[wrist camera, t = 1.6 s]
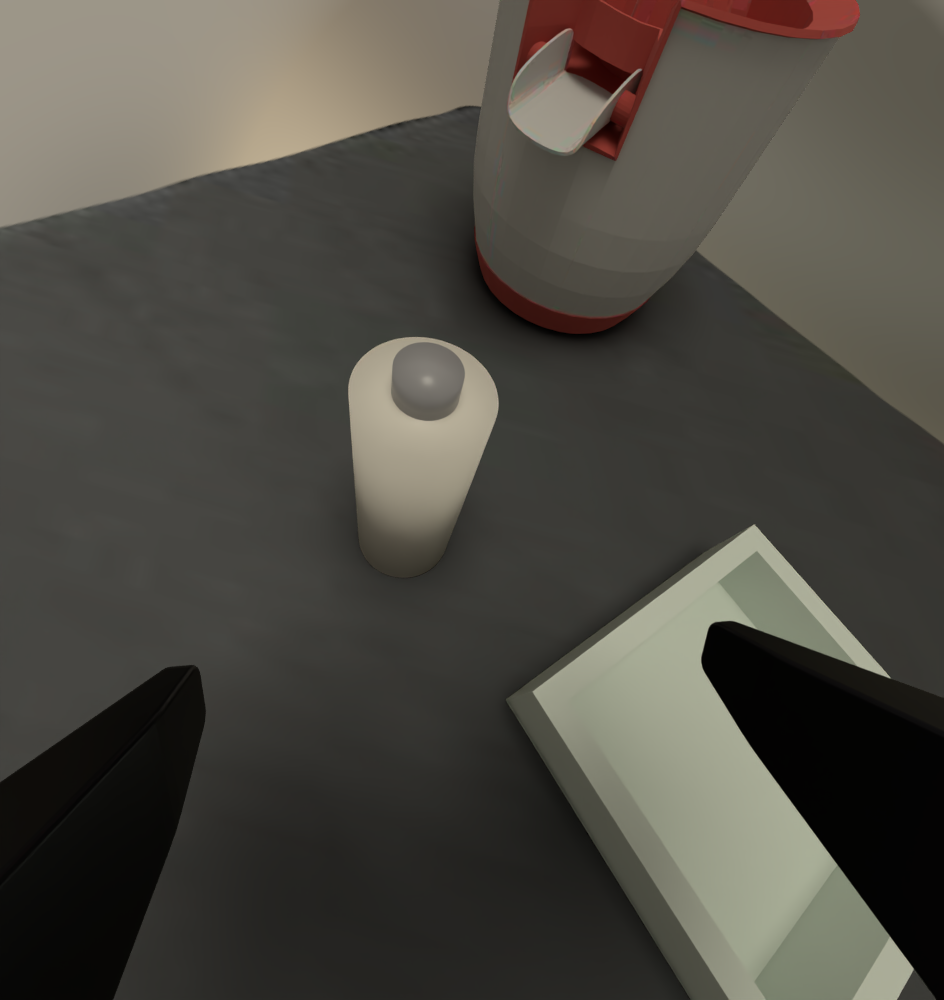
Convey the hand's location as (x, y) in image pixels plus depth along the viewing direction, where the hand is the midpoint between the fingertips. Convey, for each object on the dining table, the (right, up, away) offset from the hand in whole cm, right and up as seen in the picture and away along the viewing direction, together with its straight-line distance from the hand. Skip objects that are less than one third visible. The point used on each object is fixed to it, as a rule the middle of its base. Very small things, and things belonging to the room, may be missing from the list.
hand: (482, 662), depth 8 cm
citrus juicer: (+5, +18, +26) cm, 33 cm away
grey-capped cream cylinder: (-4, +1, +15) cm, 16 cm away
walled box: (+11, -9, +13) cm, 19 cm away
